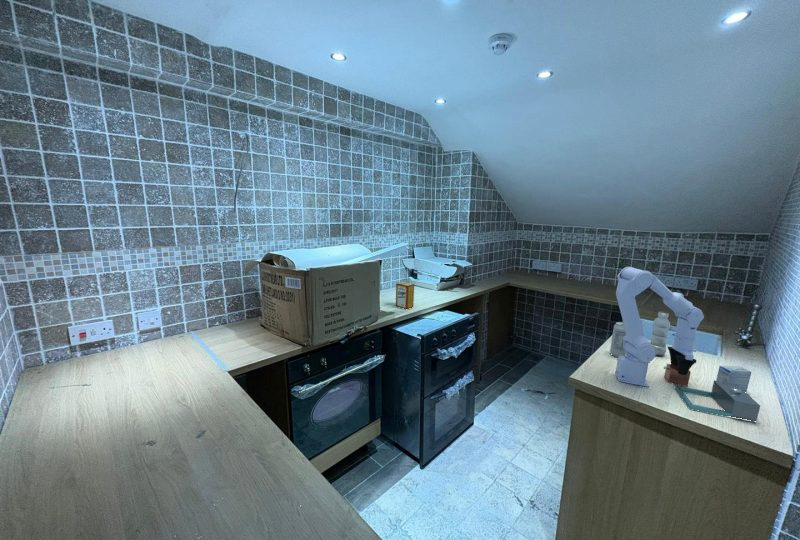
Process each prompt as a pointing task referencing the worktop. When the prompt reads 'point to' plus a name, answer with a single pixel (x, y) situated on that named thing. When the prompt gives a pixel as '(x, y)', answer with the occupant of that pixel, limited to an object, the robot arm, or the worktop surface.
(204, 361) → the worktop surface
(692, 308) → the robot arm
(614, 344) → the energy drink can
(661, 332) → the plastic bottle
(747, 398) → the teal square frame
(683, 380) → the brown wooden block
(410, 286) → the baking soda box
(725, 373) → the medicine box
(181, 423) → the worktop surface
